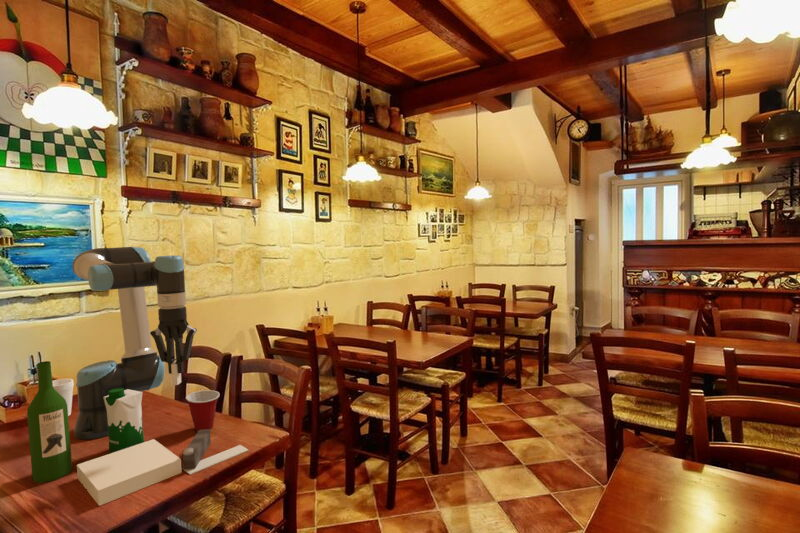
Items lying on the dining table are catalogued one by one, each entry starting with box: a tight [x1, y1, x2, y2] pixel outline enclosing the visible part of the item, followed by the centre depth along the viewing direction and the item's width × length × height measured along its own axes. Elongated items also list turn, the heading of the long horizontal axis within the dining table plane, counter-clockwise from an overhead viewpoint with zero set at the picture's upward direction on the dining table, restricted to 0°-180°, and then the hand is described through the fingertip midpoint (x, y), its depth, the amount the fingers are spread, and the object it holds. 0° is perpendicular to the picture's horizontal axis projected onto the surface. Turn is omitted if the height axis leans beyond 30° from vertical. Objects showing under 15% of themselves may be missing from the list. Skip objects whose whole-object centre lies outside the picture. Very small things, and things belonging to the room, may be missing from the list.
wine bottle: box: [26, 360, 73, 484], centre depth 125 cm, size 9×9×32 cm
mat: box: [181, 444, 250, 476], centre depth 133 cm, size 5×18×1 cm, turn 139°
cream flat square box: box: [76, 438, 183, 507], centre depth 125 cm, size 20×20×4 cm
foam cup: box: [52, 378, 75, 417], centre depth 169 cm, size 10×9×13 cm
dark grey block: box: [182, 429, 211, 469], centre depth 134 cm, size 17×3×6 cm, turn 9°
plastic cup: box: [185, 389, 220, 432], centre depth 155 cm, size 11×11×12 cm
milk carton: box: [103, 388, 145, 454], centre depth 140 cm, size 9×9×20 cm
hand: (177, 383), depth 135 cm, fingers closed
